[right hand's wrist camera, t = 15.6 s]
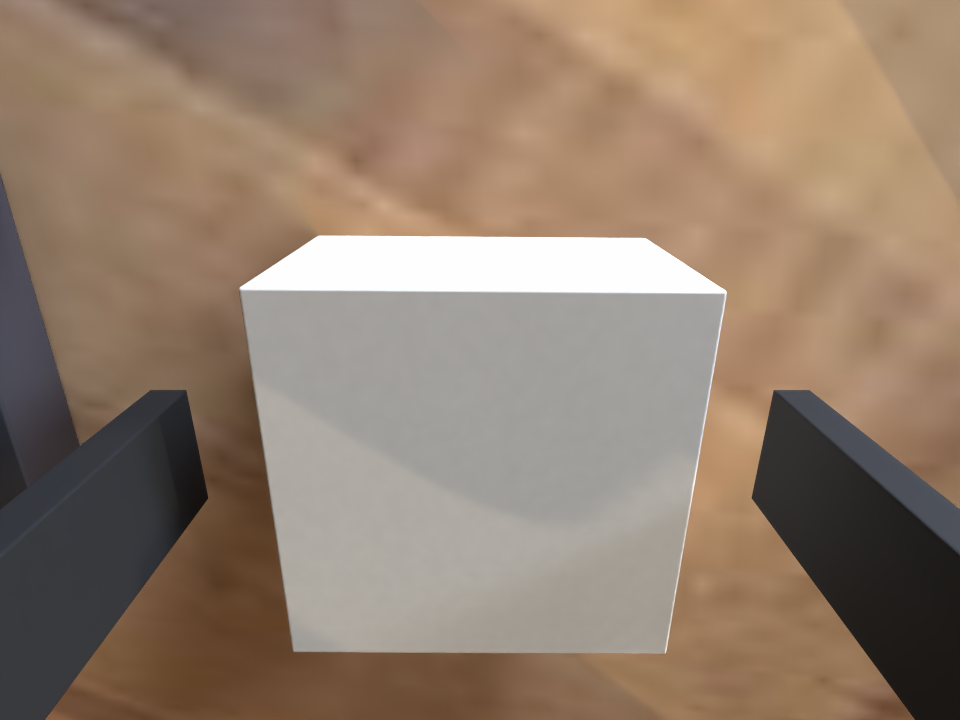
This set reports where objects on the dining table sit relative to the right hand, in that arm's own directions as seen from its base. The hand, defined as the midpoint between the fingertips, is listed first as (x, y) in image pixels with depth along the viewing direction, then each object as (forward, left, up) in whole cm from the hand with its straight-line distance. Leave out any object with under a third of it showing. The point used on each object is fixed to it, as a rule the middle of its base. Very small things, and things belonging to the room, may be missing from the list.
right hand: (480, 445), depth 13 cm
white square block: (0, 0, -3) cm, 3 cm away
